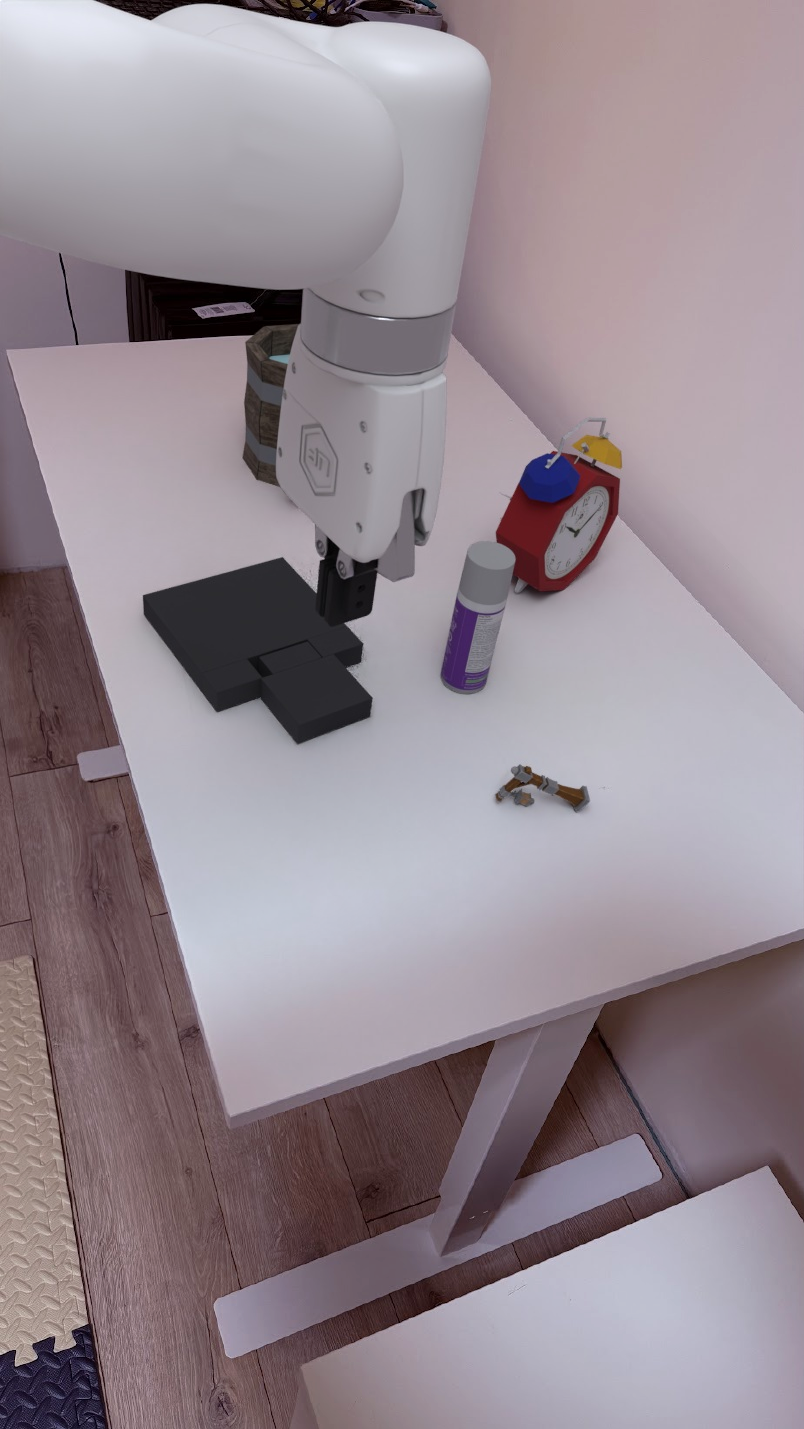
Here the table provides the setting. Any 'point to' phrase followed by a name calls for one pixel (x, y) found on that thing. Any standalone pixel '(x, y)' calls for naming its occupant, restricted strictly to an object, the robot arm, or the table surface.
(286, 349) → the mug
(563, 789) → the brown jointed two-tone fixture
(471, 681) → the container
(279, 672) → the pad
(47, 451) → the table surface
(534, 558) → the alarm clock
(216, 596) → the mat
